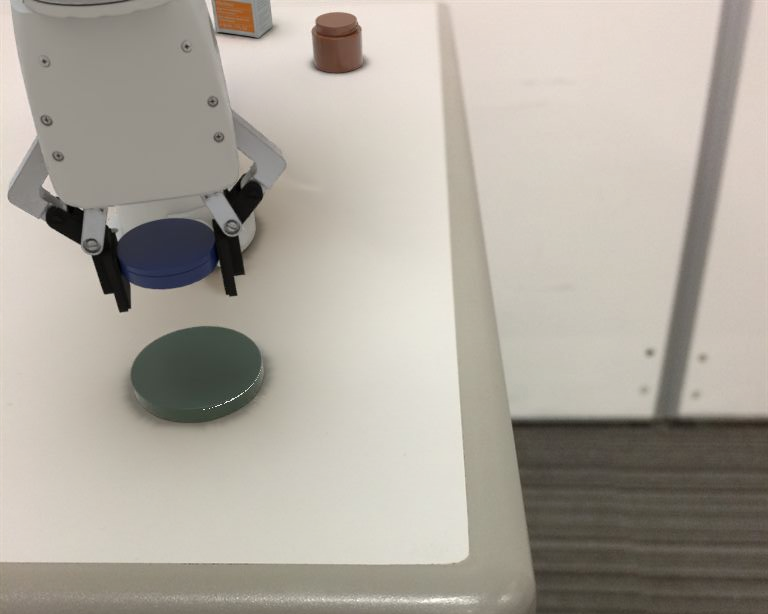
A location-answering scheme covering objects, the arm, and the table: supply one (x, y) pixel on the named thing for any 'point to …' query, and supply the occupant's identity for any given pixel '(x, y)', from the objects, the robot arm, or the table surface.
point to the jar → (337, 42)
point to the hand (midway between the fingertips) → (177, 289)
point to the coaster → (197, 373)
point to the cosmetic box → (242, 16)
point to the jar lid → (167, 253)
